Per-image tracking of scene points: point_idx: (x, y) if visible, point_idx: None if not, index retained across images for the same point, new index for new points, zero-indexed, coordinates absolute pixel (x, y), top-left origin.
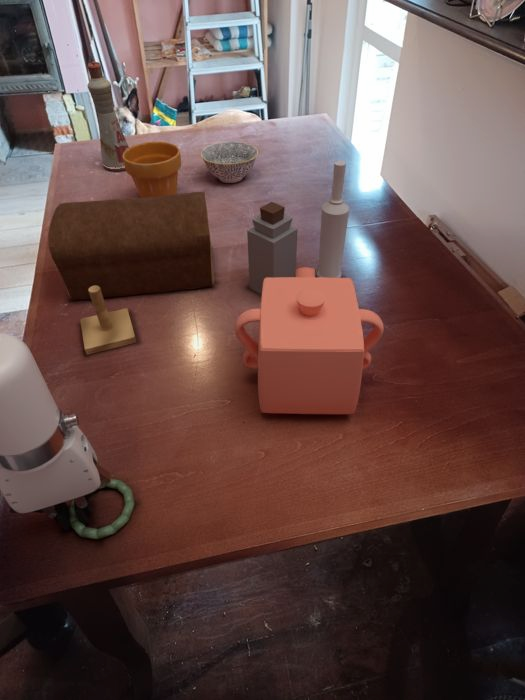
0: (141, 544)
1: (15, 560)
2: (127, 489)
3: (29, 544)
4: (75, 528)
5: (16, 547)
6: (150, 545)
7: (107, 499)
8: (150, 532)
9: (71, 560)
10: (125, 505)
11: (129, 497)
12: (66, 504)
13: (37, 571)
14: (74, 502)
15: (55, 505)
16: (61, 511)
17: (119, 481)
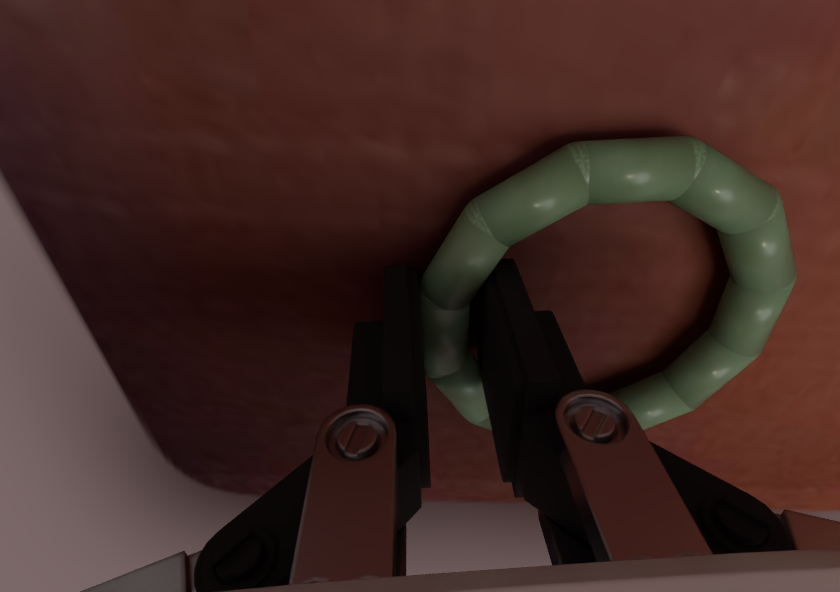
0: (676, 453)
1: (172, 402)
2: (787, 288)
3: (217, 359)
4: (451, 401)
5: (155, 357)
6: (703, 462)
7: (626, 246)
8: (730, 427)
9: None
10: (720, 359)
11: (766, 332)
12: (419, 308)
13: (280, 451)
14: (524, 489)
15: (401, 514)
16: (422, 475)
17: (775, 216)
